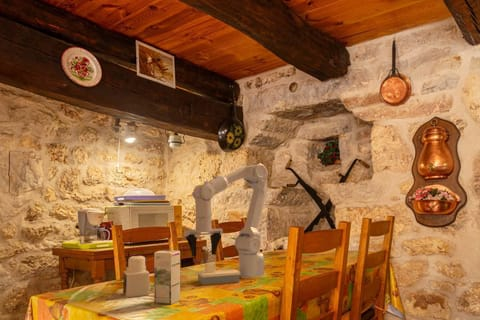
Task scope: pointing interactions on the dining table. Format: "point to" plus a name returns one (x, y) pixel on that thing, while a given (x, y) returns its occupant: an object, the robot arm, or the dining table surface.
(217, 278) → the tub
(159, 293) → the syrup box
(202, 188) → the robot arm
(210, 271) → the lid
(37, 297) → the dining table surface
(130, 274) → the medicine bottle
